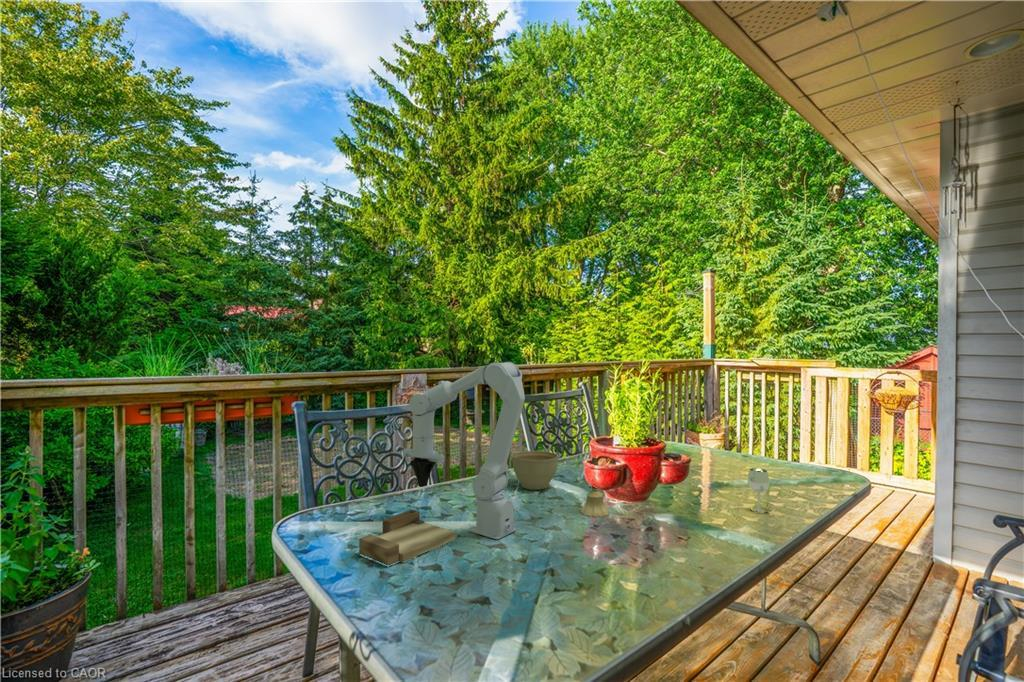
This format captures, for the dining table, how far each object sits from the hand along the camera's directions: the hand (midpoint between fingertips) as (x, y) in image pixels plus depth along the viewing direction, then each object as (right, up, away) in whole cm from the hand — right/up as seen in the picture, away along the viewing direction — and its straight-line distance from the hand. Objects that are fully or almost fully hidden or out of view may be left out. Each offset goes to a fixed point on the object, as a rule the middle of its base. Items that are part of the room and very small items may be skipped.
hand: (422, 485), depth 137 cm
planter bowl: (+33, -11, +34) cm, 48 cm away
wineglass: (+98, -11, +10) cm, 99 cm away
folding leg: (-4, -9, -9) cm, 13 cm away
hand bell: (+49, -10, +7) cm, 50 cm away
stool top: (-1, -9, -19) cm, 21 cm away
